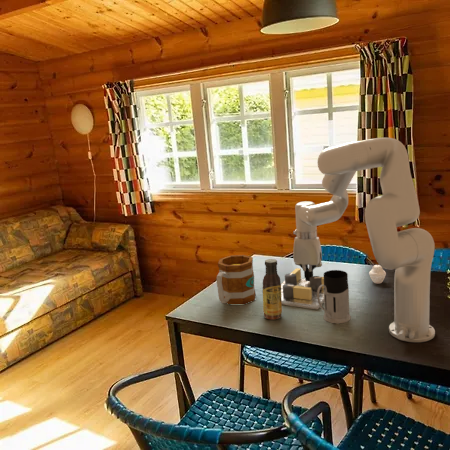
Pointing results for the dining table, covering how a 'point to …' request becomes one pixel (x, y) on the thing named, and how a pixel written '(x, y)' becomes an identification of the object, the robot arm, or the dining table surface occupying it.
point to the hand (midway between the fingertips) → (309, 279)
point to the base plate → (303, 302)
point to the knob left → (293, 277)
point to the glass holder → (335, 296)
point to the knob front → (296, 292)
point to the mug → (236, 279)
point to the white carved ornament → (377, 274)
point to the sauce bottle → (272, 291)
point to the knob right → (316, 282)
